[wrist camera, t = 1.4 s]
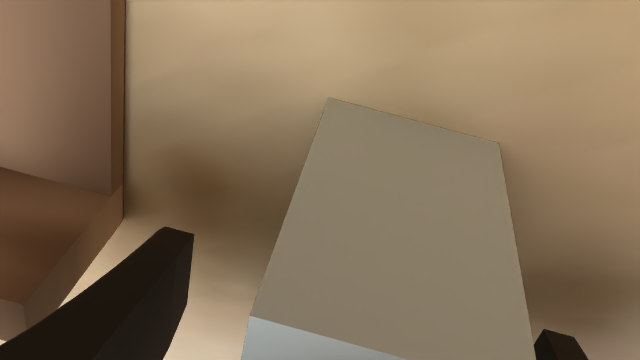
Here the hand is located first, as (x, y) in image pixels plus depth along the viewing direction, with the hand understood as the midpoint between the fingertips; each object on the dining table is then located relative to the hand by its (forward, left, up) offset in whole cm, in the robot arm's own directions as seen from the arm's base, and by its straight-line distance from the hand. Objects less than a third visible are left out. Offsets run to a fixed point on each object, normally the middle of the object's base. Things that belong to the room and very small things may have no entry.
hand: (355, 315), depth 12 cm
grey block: (0, 0, -2) cm, 2 cm away
